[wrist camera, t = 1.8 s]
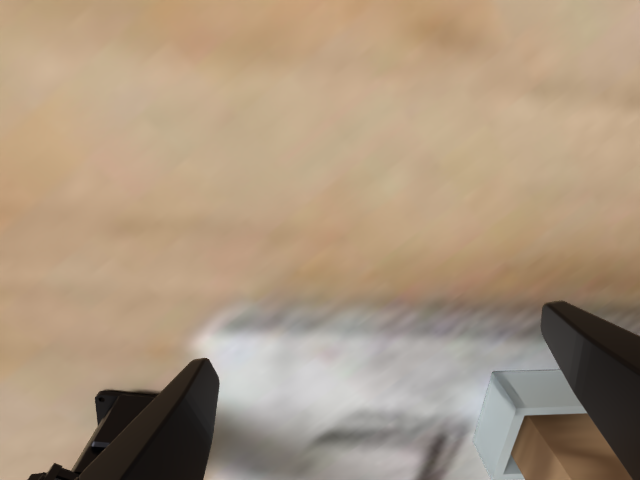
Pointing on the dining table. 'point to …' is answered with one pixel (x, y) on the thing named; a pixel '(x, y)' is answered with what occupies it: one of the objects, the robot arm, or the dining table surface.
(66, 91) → the dining table surface
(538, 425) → the walnut block
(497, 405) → the sleeve
